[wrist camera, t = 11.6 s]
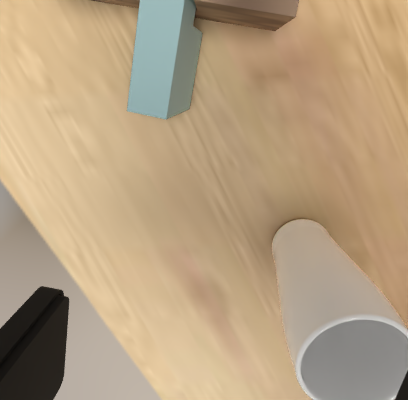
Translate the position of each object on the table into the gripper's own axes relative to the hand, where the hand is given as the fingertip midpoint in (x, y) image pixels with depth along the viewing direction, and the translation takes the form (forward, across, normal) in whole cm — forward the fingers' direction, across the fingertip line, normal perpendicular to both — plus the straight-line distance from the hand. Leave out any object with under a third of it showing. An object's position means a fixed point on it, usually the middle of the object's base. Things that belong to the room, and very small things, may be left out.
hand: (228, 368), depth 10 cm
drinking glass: (+24, -8, +6) cm, 26 cm away
